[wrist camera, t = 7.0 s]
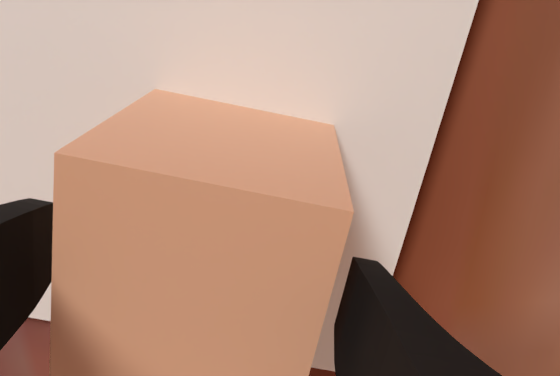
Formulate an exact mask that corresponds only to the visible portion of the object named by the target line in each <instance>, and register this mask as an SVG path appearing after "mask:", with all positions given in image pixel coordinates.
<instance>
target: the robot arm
mask: <svg viewBox="0 0 560 376" xmlns="http://www.w3.org/2000/svg"><path fill="white" fill-rule="evenodd" d="M52 233H53V202H48V201H43V200H37V199H32V198H28V199H21V200H17V201H13V202H9V203H5V204H1V205H0V350H1V349H2V348H3V346H4V345H5V344H6V343H7V342H8V341H9V339H10V338H11V337H12V336H13V335H14V333H15V332H16V331H17V330H18V329H19V327H20V326H21V325H22V324H23V323H24V321H25V320H26V319H27V318H28V317H29V315H30V314H31V313H32V312H33V310H34V309H35V307H36V306H37V304H38V303H39V301H40V300H41V298H42V297H43V295H44V293H45V292H46V290H47V288H48V287H49V285H50V283H51V279H52ZM334 365H335V373H336V376H502V375H500V374H499V373H498V372H496V371H495V370H493V369H492V368H491V367H489V366H488V365H487V364H485V363H484V362H483V361H481V360H480V359H479V358H478V357H476V356H475V355H474V354H473V353H471V352H470V351H469V350H468V349H466V348H465V347H464V346H463V345H461V344H460V343H459V342H458V341H457V340H456V339H454V338H453V337H452V336H451V335H450V334H449V333H448V332H447V331H446V330H444V329H443V328H442V327H441V326H440V325H439V324H438V323H437V322H436V321H435V320H434V319H433V318H432V317H431V316H430V315H429V314H428V313H427V312H426V311H425V310H424V309H423V308H422V307H421V306H420V305H419V304H418V303H417V302H416V301H415V300H414V299H413V298H412V297H411V296H410V295H409V294H408V293H407V291H406V290H405V289H404V288H403V287H402V286H401V285H400V284H399V283H398V282H397V281H396V279H395V278H394V277H393V276H392V275H391V274H390V273H389V272H388V271H387V270H386V269H385V268H384V267H383V266H382V265H381V264H380V263H379V262H378V261H375V260H369V259H364V258H358V257H353V258H352V261H351V265H350V269H349V272H348V276H347V280H346V283H345V287H344V291H343V294H342V298H341V302H340V305H339V309H338V313H337V316H336V320H335V324H334Z"/></svg>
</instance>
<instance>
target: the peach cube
mask: <svg viewBox="0 0 560 376" xmlns="http://www.w3.org/2000/svg"><path fill="white" fill-rule="evenodd" d="M353 214H354V209H353V205H352V201H351V196H350V192H349V188H348V183H347V179H346V175H345V170H344V166H343V162H342V157H341V153H340V149H339V144H338V140H337V136H336V131H335V127H334V125H331V124H327V123H322V122H317V121H312V120H307V119H302V118H297V117H292V116H287V115H282V114H277V113H272V112H267V111H262V110H257V109H252V108H248V107H243V106H238V105H233V104H228V103H223V102H218V101H213V100H208V99H203V98H198V97H193V96H188V95H183V94H178V93H173V92H169V91H164V90H159V89H154V90H152V91H151V92H149V93H148V94H146V95H145V96H143V97H141V98H140V99H138V100H137V101H135V102H134V103H132V104H130V105H129V106H127V107H126V108H124V109H122V110H121V111H119V112H118V113H116V114H115V115H113V116H111V117H110V118H108V119H107V120H105V121H104V122H102V123H100V124H99V125H97V126H96V127H94V128H92V129H91V130H89V131H88V132H86V133H85V134H83V135H81V136H80V137H78V138H77V139H75V140H74V141H72V142H70V143H69V144H67V145H66V146H64V147H62V148H61V149H59V150H58V151H56V152H55V153H54V186H53V233H52V279H51V326H50V373H49V376H309V373H310V369H311V366H312V362H313V358H314V355H315V351H316V348H317V344H318V340H319V337H320V333H321V330H322V326H323V322H324V319H325V315H326V311H327V308H328V304H329V301H330V297H331V293H332V290H333V286H334V283H335V279H336V275H337V272H338V268H339V265H340V261H341V257H342V254H343V250H344V247H345V243H346V239H347V236H348V232H349V229H350V225H351V221H352V218H353Z"/></svg>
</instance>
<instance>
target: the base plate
mask: <svg viewBox="0 0 560 376" xmlns="http://www.w3.org/2000/svg"><path fill="white" fill-rule="evenodd" d="M478 1H479V0H0V205H1V204H5V203H9V202H13V201H17V200H21V199H28V198H32V199H37V200H43V201H48V202H53V186H54V153H55V152H56V151H58V150H59V149H61V148H62V147H64V146H66V145H67V144H69V143H70V142H72V141H74V140H75V139H77V138H78V137H80V136H81V135H83V134H85V133H86V132H88V131H89V130H91V129H92V128H94V127H96V126H97V125H99V124H100V123H102V122H104V121H105V120H107V119H108V118H110V117H111V116H113V115H115V114H116V113H118V112H119V111H121V110H122V109H124V108H126V107H127V106H129V105H130V104H132V103H134V102H135V101H137V100H138V99H140V98H141V97H143V96H145V95H146V94H148V93H149V92H151V91H152V90H154V89H159V90H164V91H169V92H173V93H178V94H183V95H188V96H193V97H198V98H203V99H208V100H213V101H218V102H223V103H228V104H233V105H238V106H243V107H248V108H252V109H257V110H262V111H267V112H272V113H277V114H282V115H287V116H292V117H297V118H302V119H307V120H312V121H317V122H322V123H327V124H331V125H334V127H335V131H336V136H337V140H338V144H339V149H340V153H341V157H342V162H343V166H344V170H345V175H346V179H347V183H348V188H349V192H350V196H351V201H352V205H353V209H354V214H353V218H352V221H351V225H350V229H349V232H348V236H347V239H346V243H345V247H344V250H343V254H342V257H341V261H340V265H339V268H338V272H337V275H336V279H335V283H334V286H333V290H332V293H331V297H330V301H329V304H328V308H327V311H326V315H325V319H324V322H323V326H322V330H321V333H320V337H319V340H318V344H317V348H316V351H315V355H314V358H313V362H312V366H311V367H312V368H317V369H323V370H329V371H334V372H335V365H334V324H335V320H336V316H337V313H338V309H339V305H340V302H341V298H342V294H343V291H344V287H345V283H346V280H347V276H348V272H349V269H350V265H351V261H352V258H353V257H358V258H364V259H369V260H375V261H378V262H379V263H380V264H381V265H382V266H383V267H384V268H385V269H386V270H387V271H388V272H389V273H390V274H391V275H392V276H393V273H394V270H395V267H396V264H397V261H398V257H399V254H400V251H401V248H402V245H403V241H404V238H405V235H406V232H407V229H408V225H409V222H410V219H411V216H412V213H413V209H414V206H415V203H416V200H417V197H418V193H419V190H420V187H421V184H422V181H423V177H424V174H425V171H426V168H427V165H428V161H429V158H430V155H431V152H432V149H433V145H434V142H435V139H436V136H437V133H438V129H439V126H440V123H441V120H442V117H443V113H444V110H445V107H446V104H447V101H448V97H449V94H450V91H451V88H452V85H453V81H454V78H455V75H456V72H457V69H458V65H459V62H460V59H461V56H462V53H463V49H464V46H465V43H466V40H467V37H468V33H469V30H470V27H471V24H472V21H473V17H474V14H475V11H476V8H477V5H478ZM29 317H30V318H35V319H41V320H47V321H51V283H50V285H49V287H48V288H47V290H46V292H45V293H44V295H43V297H42V298H41V300H40V301H39V303H38V304H37V306H36V307H35V309H34V310H33V312H32V313H31V314H30V315H29Z"/></svg>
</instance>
